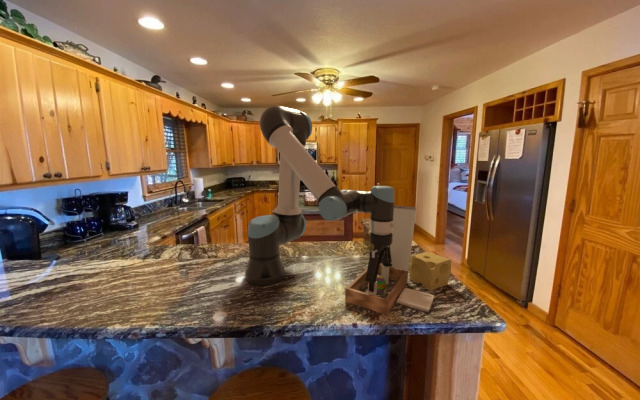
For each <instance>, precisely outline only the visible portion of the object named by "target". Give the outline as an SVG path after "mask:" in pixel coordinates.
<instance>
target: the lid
mask: <svg viewBox="0 0 640 400" xmlns="http://www.w3.org/2000/svg"><path fill="white" fill-rule="evenodd" d="M416 213H417V206H405V205H396V204H394V214H393V224H394V225H395V226H394V227H393V231H392V232H391V233H392V234H393V236H392V244H391V245H390V251H391V260H392V262H391V263H390V264H392V267H393V268H396V269H400V270H405V271H408V272H410V259H411V255H412V254H411V253H412V245H413V238H414V229H415V222H416ZM380 265H383V264H382V263H380ZM383 266H384V265H383ZM389 267H390V266H389Z"/></svg>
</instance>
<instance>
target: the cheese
mask: <svg viewBox="0 0 640 400" xmlns="http://www.w3.org/2000/svg"><path fill="white" fill-rule="evenodd" d="M451 271H452V259H450V258H448V257H445V256H441V255H438V254H435V253H434V252H430V251H424V252H421V253H418V254H411V255H410V263H409V280H410V281H413V282H414V283H416V284H418V285H419V284H420V285H422V287H423V288H425V289H426V290H428V291H430V292H431V291H433V290H435V289H439V288H441V287H444V286H445V287H446V286H448V284H449V280H450V276H451V274H452V273H451Z"/></svg>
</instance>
